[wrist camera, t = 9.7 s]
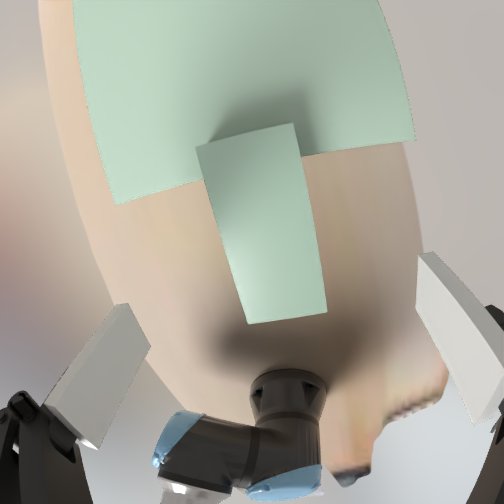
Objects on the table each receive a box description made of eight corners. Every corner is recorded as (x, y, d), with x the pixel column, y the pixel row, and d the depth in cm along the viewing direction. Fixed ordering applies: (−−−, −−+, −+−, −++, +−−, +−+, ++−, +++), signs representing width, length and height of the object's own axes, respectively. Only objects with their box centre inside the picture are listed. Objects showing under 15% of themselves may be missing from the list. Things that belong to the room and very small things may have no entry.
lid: (409, 254, 20) (436, 288, 15) (171, 295, 24) (148, 333, 19) (329, -64, 10) (338, -99, 5) (90, 7, 14) (53, -8, 9)
